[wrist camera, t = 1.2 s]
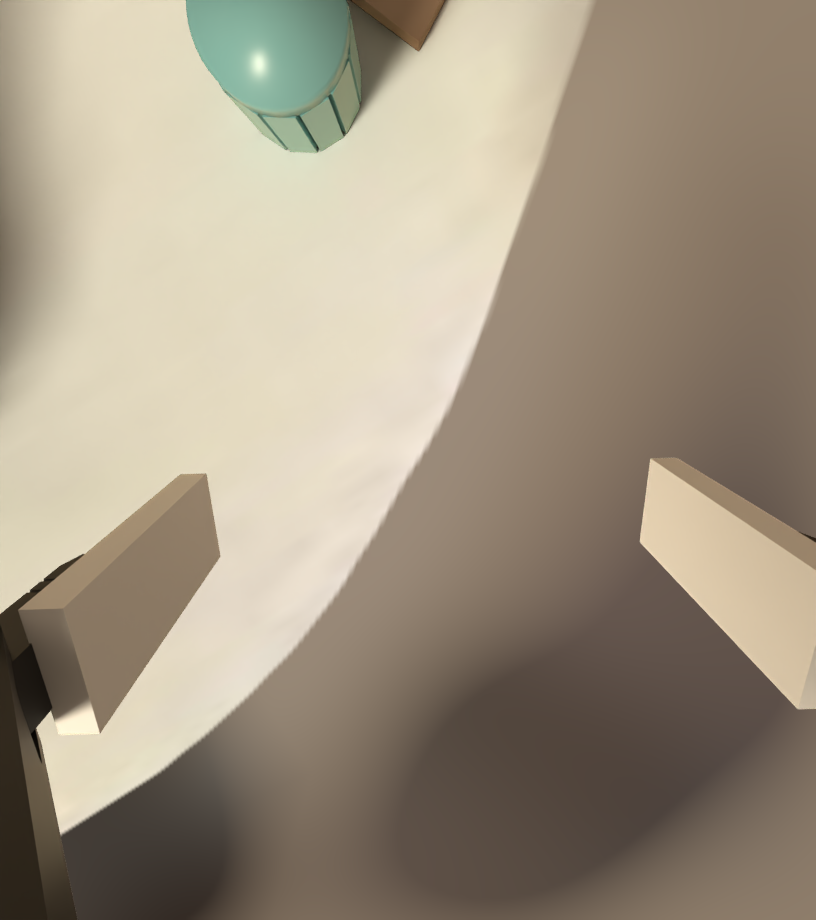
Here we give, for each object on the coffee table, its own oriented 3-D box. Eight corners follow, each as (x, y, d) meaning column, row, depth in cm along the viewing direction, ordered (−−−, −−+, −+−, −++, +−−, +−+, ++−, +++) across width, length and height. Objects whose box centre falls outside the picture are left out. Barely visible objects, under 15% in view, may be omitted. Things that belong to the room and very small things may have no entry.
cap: (221, 106, 30) (160, 44, 22) (275, -19, 28) (228, -132, 21) (325, 176, 31) (300, 140, 24) (383, 61, 29) (376, -19, 22)
